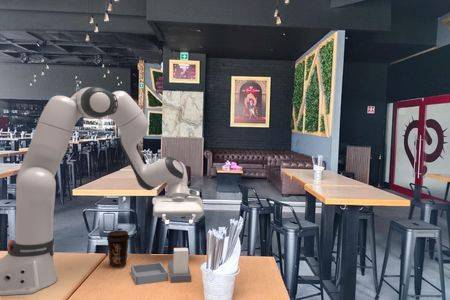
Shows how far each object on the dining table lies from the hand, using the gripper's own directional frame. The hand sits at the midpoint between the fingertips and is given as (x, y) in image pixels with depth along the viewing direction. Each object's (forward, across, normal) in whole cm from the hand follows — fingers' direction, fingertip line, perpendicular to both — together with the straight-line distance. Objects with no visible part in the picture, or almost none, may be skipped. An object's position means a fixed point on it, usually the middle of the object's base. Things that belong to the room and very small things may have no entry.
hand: (179, 225), depth 137 cm
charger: (+20, 0, +3) cm, 20 cm away
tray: (+18, -11, +5) cm, 22 cm away
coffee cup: (+9, -23, +14) cm, 28 cm away
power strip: (+17, 0, +6) cm, 18 cm away
